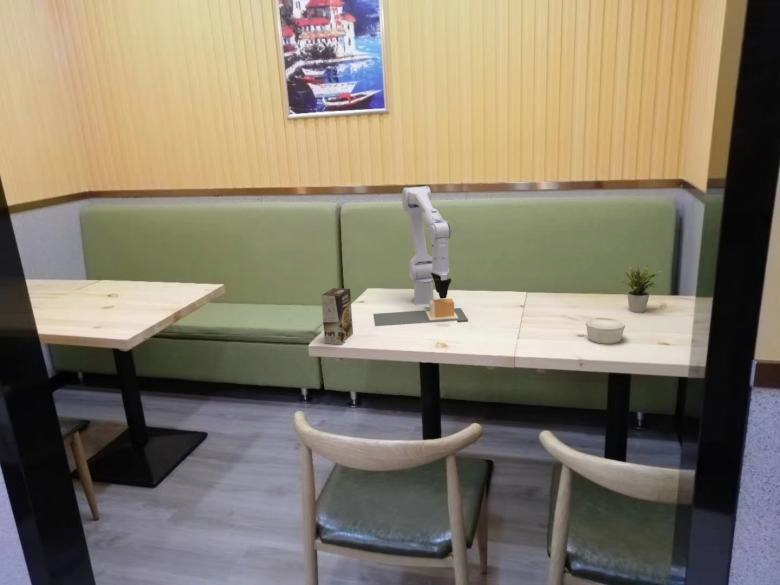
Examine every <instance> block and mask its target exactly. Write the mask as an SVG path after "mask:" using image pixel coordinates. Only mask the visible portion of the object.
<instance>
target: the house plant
mask: <svg viewBox="0 0 780 585" xmlns="http://www.w3.org/2000/svg"><path fill="white" fill-rule="evenodd" d="M628 267H629V270H630V274H629V273H628V272H626V271H625V270H623V272H624V273H625V274H626V276H627V277H628V278H629V280H630V281H628V282H627V281H624V280H622V281H620V282H619V283H621V284H625V285H628V286H629V287H630V288H631V290H630V291H629V290H628V291H627V293H626V294H627V300H628V302H627V303H628V310H629V312H632V313H640V314H642V313H645V312H646V311H647V306H648V302H649V298H650V293H649V292H648V291H647V290H649V289H650V288H651V287H652V288H655V289H657V287H656V285H655V282H656V283H657V280H653V281H650V280H651V279H652V278H655V277H657V275H658V274H659V273H660V272H662V270H659V271H656V272H653V273H652V274H649V272H650V270H651V268H652V267H651V266H650V267H648V264H647V265H646V266H645V268H644V269H643V271H642V272H641V270H640V269H639V265H638V264H637V265H636V269H637V270H634V269H633V267H631V266H628ZM660 276H661V275H660V274H659V277H660Z"/></svg>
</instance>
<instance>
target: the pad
mask: <svg viewBox="0 0 780 585" xmlns="http://www.w3.org/2000/svg"><path fill="white" fill-rule="evenodd" d="M426 313H427V315H428V318H429V320H430V321H431V320H445V319H458V316H457V315H456V313H455V311H454V316H445V317H431V315H430V311H426Z"/></svg>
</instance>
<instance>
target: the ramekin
mask: <svg viewBox="0 0 780 585" xmlns="http://www.w3.org/2000/svg"><path fill="white" fill-rule="evenodd" d="M585 326H586V334H587V338H588V339H589V341H592V342H594V343H596V344H601V345H602V344H603V345H612V344H613V345H614V344H617V343H619V342H620V341H621V340H622V338H623V335H624V330H625V328H626V324H625V322H624V321H622V320H620V319H616V318H611V317H593V318H590V319H587V320H586V321H585Z"/></svg>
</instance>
